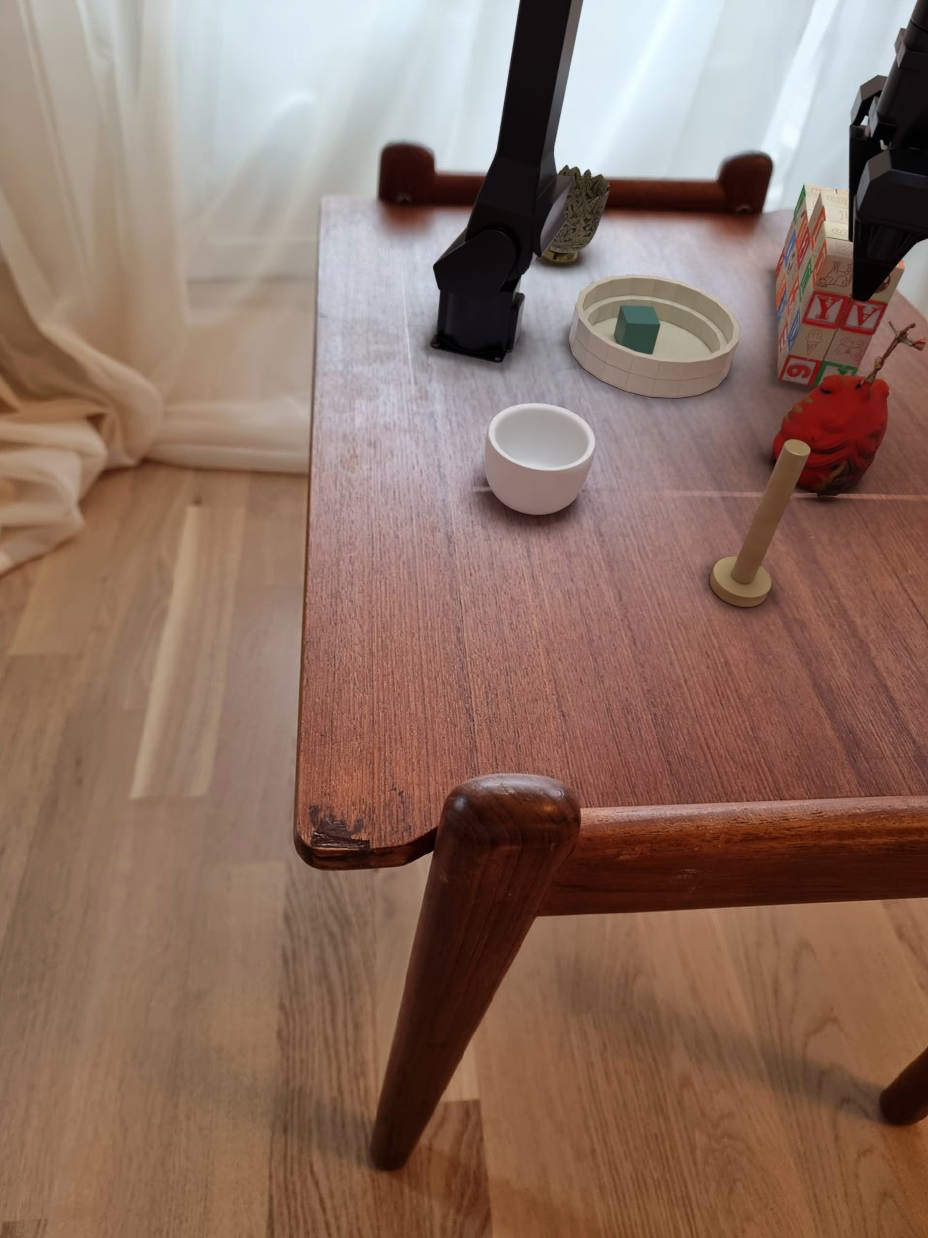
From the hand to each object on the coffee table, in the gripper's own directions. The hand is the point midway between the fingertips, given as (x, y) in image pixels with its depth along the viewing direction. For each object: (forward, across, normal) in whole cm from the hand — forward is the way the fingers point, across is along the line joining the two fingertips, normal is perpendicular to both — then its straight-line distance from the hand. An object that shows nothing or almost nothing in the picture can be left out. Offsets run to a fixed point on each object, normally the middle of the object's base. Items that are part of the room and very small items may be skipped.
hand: (857, 269), depth 71 cm
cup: (+15, +21, +24) cm, 35 cm away
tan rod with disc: (+14, -20, +3) cm, 25 cm away
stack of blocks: (+15, +18, -1) cm, 23 cm away
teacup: (+15, -15, +19) cm, 28 cm away
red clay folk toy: (+15, -5, -2) cm, 16 cm away
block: (+14, +8, +14) cm, 21 cm away
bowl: (+14, +7, +13) cm, 20 cm away
